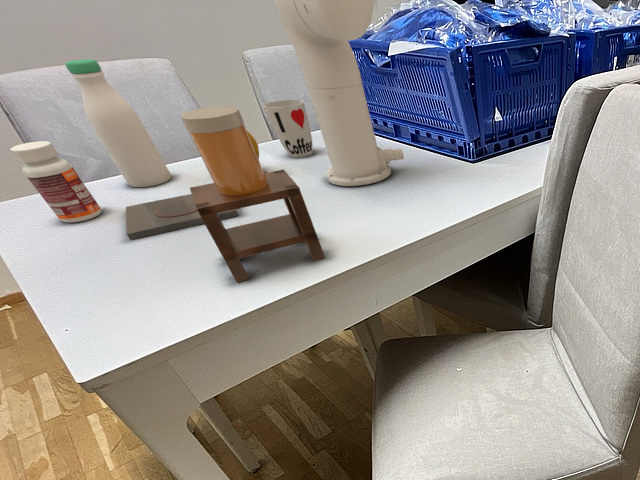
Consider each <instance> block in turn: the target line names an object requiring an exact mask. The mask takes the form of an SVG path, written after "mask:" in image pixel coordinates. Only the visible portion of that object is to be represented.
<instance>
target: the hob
mask: <svg viewBox="0 0 640 480" xmlns="http://www.w3.org/2000/svg"><path fill="white" fill-rule="evenodd" d="M218 215H219V217H220V219H221V221H222V220H226V219H231V218H236V217H238V216H239V214H238V211H237V209H234V210H230V211H225V212H221V213H218ZM203 224H204V225H205V223H204V222H203V220H202V218H201V216H200V214H199V212H198V211H197V209H196V206H195V203H194V200H193V197H192V194H191V193H189V194H183V195H179V196H174V197H169V198H168V197H167V198H164V199H158V200H152V201H149V202H143V203H138V204H133V205H129V206H125V225H126V226H125V227H126V232H125V233H126V236H127V237H128V238H129V240H130V241H132V240H136V239H141V238H146V237H150V236H155V235H159V234H164V233H168V232H172V231H177V230H181V229H186V228H190V227H194V226H198V225H199V226H200V225H203Z"/></svg>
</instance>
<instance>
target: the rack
mask: <svg viewBox="0 0 640 480" xmlns="http://www.w3.org/2000/svg"><path fill="white" fill-rule="evenodd" d="M264 174H265V176H266V179H267V181H268V185H267V186H266V187H265V188H263V189H261V190H259V191H256V192H253V193H249V194H244V195H233V196H231V195H223V194H220V193H219V192H218V190H217V188H216V186H215V184H214V182H211V183H206V184H201V185H196V186H191V187H189V190H190V194H192V197H193V200H194V203H195V206H196V209H197V211H198V212H199V214H200V216H201V218H202V220H203V222H204V225H205V227H206V229H207V231H208V233H209V235H210V237H211V238H212V241H213V242H214V244H215V245H216V247H217V249H218V251H219V253H220V254H221V256H222V258H223V260H224V262H225V264H226V266H227V267H228V269H229V271H230V273H231V275H232V277H233V278H234V281H235V282H236V283H241V282H245V281H249V280H250V278H249V275H248V273H247V271H246V269H245V267H244V266H243V263H242V261H241V259H244V258H248V257H253V256H256V255H258V254H264V253H268V252H271V251H274V250H279V249H283V248H287V247H291V246H295V245H299V244H303V243H305V244H306V246H307V249H308V252H309V254H310V257H311V259H312V261H314V262H317V261H321V260H324V259H326V255H325V253H324V250H323V248H322V245H321V242H320V239H319V237H318V234H317V231H316V229H315V226H314V223H313V221H312V218H311V215H310V212H309V211H308V207H307V204H306V202H305V200H304V197H303V194H302V191H301V188H300V187H299V185H298V184H297V183H296V181H294V179H293V178H292V177H291V176H290V175H289V174H288V172H287V171H286V170H285V169H284V168H283V169H278V170H274V171H269V172H264ZM280 200H283V202H284V205H285V207H286V209H287V212H288V214H284V215H280V216H275V217H271V218H266V219H263V220H258V221H254V222H250V223H246V224H241V225H237V226H233V227H228V228H226V227H225V225H224V223H223V221H222V220H221V219H220V217H219V215H218V213H221V212H225V211H230V210H234V209H236V210H238V209H242V208H247V207H252V206H257V205H262V204H266V203H271V202H274V201H280Z"/></svg>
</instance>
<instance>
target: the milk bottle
mask: <svg viewBox="0 0 640 480" xmlns="http://www.w3.org/2000/svg"><path fill="white" fill-rule="evenodd" d="M64 65H65V67H66V69H67V71H68V72H69V74H70V75H71V76H72V78H73V79H75V81H76V82H77V85H78V87H79V89H80V93H81V97H82V102H83V103H82V104H83V108H84V109H83V110H84V112H85V115H86V118H87V120H88V122H89V124H90V125H91V127H92V128H93V131H94V132H95V134H96V136H97V137H98V139H99V140H100V142H101V143H102V145H103V147H104V149H105V150H106V151H107V153H108V155H109V157H110V158H111V160H112V161H113V163H114V164H115V166H116V168H117V169H118V171H119V172H120V175H122V177H123V178H124V180H125V182H126V184H128V186H130V187H132V188H146V187H153V186H158V185H161V184H163V183H166V182H168V181H170V180H171V178H172V174H171V173H170V170H169V168H168V166H167V165H166V163H165V161H164V159H163V157H162V156H161V153H159V150H158V149H157V147H156V145H155V143H154V142H153V140H152V138H151V136H150V134H149V133H148V131H147V129H146V127H145V125H144V124H143V122H142V120H141V118H140V117H139V115H138V113H137V112H136V111H135V110H134V107H132V106H131V104H130V103H129V102H128V101H127V100H125V98H124V97H122V95H120V94H119V93H118V92H117V91H116V90H115V89H114V88H113V87H112V86H111V84H110V83H109V82H108V80H107V79H106V77H105V76H104V75H105V73H104V72H103V70H102V67H101V65H100V64H99V62H98V61H97V60H96V59H93V58H89V59H87V58H86V59H75V60H69V61H65V62H64Z"/></svg>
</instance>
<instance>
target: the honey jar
mask: <svg viewBox="0 0 640 480" xmlns="http://www.w3.org/2000/svg"><path fill="white" fill-rule="evenodd" d="M180 119H181V122H182V123H183V125H184V127H185V129H186V132H188V133H189V135H190V137H191V140H192V141H193V143H194V145H195V147H196V150H197V152H198V154H199V155H200V157H201V159H202V161H203V164H204V165H205V167H206V170H207V171H208V173H209V176H210V177H211V179H212V181H213V182H212V183H214V184H215V186H216V188H217V190H218V192H219V193H220V194H223V195H231V196H233V195H244V194H249V193H253V192H256V191H259V190H261V189H263V188H265V187H266V186H267V185H268V181H267V179H266V176H265V174H264V173H265V172H264V169H263V167H262V164H261V161H260V159H259V160H258V157H257V155H256V152H255V150H254V147H253V145H252V143H251V140H250V138H249V135H248V133H247V131H248V130H247V129H246V126H245V122H244V119H243V117H242V114H241V112H240V109H239V108H238V107H236V106H211V107H202V108H197V109H192V110H189V111H185V112H183V113H181V114H180ZM246 130H247V131H246Z"/></svg>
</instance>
